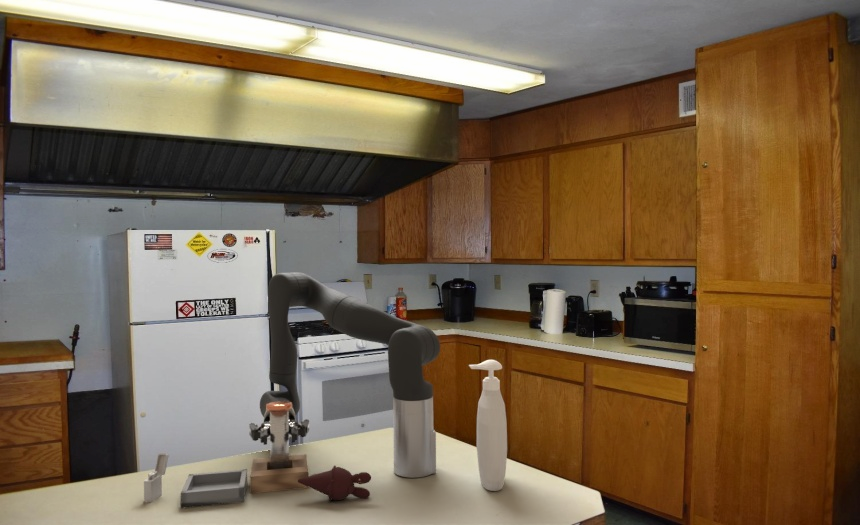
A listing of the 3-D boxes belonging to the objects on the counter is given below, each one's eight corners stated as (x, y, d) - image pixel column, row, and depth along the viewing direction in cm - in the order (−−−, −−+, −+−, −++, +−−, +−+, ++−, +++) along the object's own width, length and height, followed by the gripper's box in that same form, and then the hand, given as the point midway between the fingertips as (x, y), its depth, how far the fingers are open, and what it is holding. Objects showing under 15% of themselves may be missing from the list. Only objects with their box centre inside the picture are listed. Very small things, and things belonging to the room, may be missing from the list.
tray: (247, 482, 133) (247, 469, 133) (244, 502, 123) (244, 487, 123) (189, 488, 131) (189, 474, 131) (180, 508, 120) (180, 493, 120)
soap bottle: (468, 472, 139) (467, 354, 139) (503, 472, 139) (502, 354, 139) (472, 497, 124) (470, 365, 124) (511, 496, 124) (510, 365, 124)
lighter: (151, 502, 123) (151, 463, 123) (143, 502, 123) (143, 462, 123) (169, 489, 130) (168, 452, 130) (161, 489, 130) (161, 451, 130)
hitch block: (306, 469, 142) (306, 454, 142) (308, 487, 130) (308, 471, 130) (253, 473, 139) (252, 458, 139) (250, 493, 127) (250, 476, 127)
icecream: (293, 476, 119) (369, 482, 119) (302, 455, 127) (373, 460, 127) (293, 506, 121) (367, 512, 121) (301, 484, 128) (372, 489, 128)
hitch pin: (292, 475, 138) (291, 400, 138) (293, 483, 133) (292, 406, 133) (267, 477, 137) (266, 402, 137) (266, 486, 131) (265, 408, 131)
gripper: (249, 406, 147) (244, 424, 130) (309, 402, 150) (312, 419, 134) (249, 437, 147) (245, 459, 130) (309, 432, 150) (313, 453, 134)
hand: (279, 438), depth 132 cm, fingers open, 5 cm apart
